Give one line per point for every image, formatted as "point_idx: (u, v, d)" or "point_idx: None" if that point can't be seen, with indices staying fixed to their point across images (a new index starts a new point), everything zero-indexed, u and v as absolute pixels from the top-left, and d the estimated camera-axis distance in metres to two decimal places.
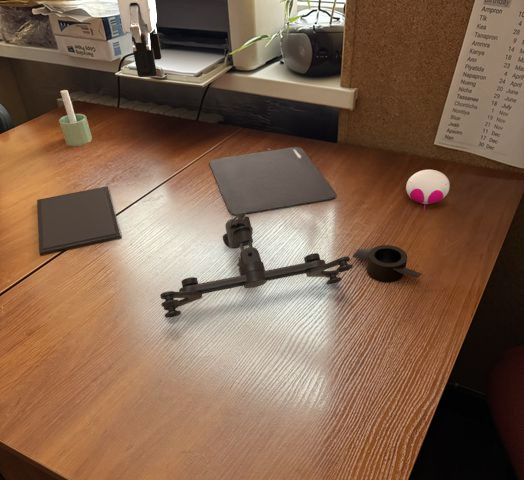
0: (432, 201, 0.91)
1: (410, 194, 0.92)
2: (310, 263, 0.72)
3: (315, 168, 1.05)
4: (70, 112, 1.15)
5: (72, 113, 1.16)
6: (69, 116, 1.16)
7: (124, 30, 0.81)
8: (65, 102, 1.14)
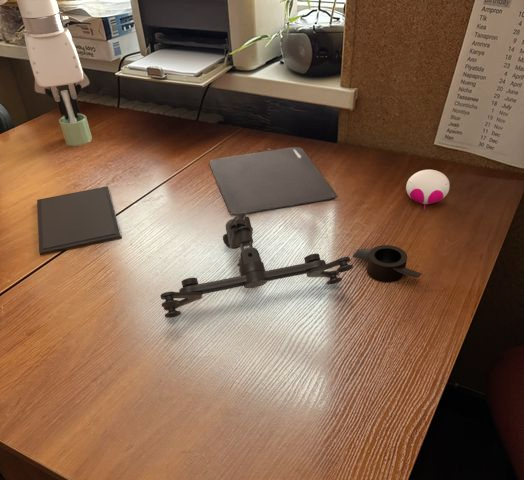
0: (432, 201, 0.91)
1: (410, 194, 0.92)
2: (310, 263, 0.72)
3: (315, 168, 1.05)
4: (70, 112, 1.15)
5: (72, 113, 1.16)
6: (69, 116, 1.16)
7: None
8: (65, 102, 1.14)
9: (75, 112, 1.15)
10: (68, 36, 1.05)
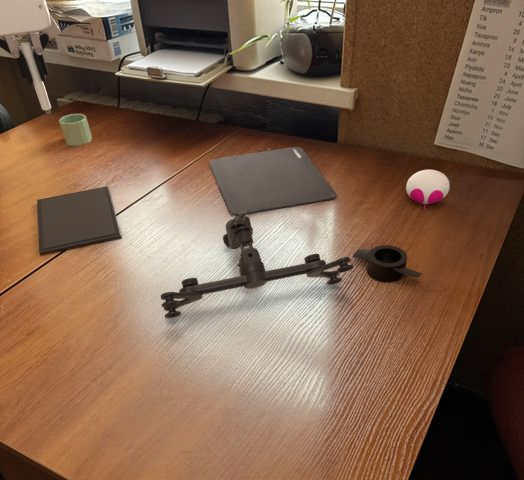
0: (432, 201, 0.91)
1: (410, 194, 0.92)
2: (310, 263, 0.72)
3: (315, 168, 1.05)
4: (35, 73, 0.84)
5: (37, 75, 0.85)
6: (34, 79, 0.85)
7: None
8: (27, 59, 0.83)
9: (41, 73, 0.84)
10: None
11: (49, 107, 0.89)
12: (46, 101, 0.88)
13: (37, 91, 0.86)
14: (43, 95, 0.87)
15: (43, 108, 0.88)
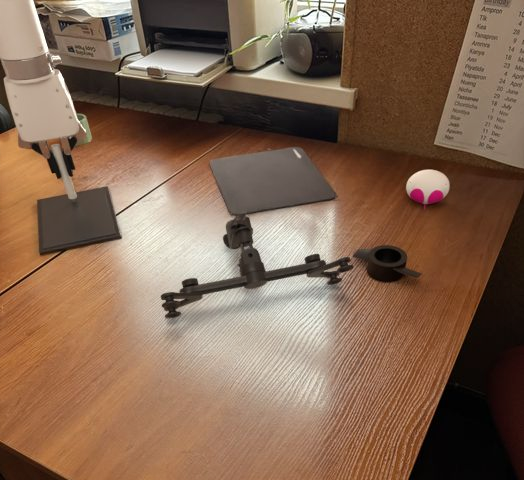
0: (432, 201, 0.91)
1: (410, 194, 0.92)
2: (310, 264, 0.72)
3: (315, 168, 1.05)
4: (63, 169, 0.93)
5: (65, 171, 0.93)
6: (62, 174, 0.94)
7: None
8: (57, 158, 0.92)
9: (69, 170, 0.93)
10: (59, 81, 0.83)
11: (75, 196, 0.97)
12: (72, 192, 0.96)
13: (65, 184, 0.95)
14: (70, 187, 0.96)
15: (69, 197, 0.97)
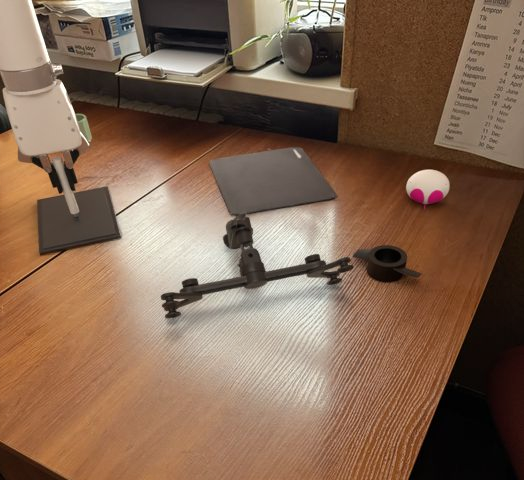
0: (432, 201, 0.91)
1: (410, 194, 0.92)
2: (311, 264, 0.72)
3: (315, 168, 1.05)
4: (65, 183, 0.89)
5: (67, 185, 0.89)
6: (64, 189, 0.90)
7: None
8: (58, 172, 0.87)
9: (71, 184, 0.88)
10: (61, 92, 0.79)
11: (77, 211, 0.93)
12: (74, 206, 0.92)
13: (66, 198, 0.91)
14: (72, 201, 0.91)
15: (71, 212, 0.93)
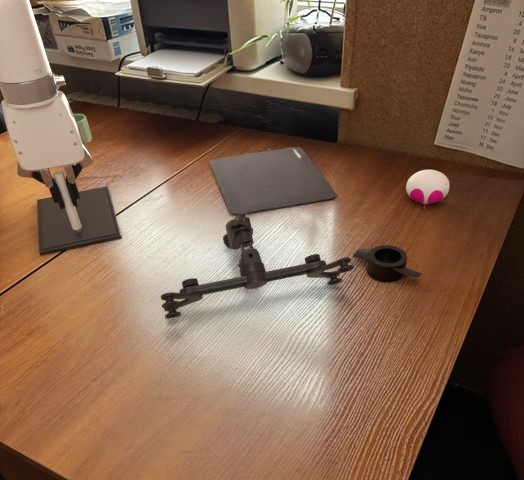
0: (432, 201, 0.91)
1: (410, 194, 0.92)
2: (311, 264, 0.72)
3: (315, 168, 1.05)
4: (67, 199, 0.85)
5: (69, 200, 0.85)
6: (65, 204, 0.86)
7: None
8: (60, 187, 0.83)
9: (73, 200, 0.85)
10: (63, 104, 0.75)
11: (79, 227, 0.89)
12: (77, 222, 0.88)
13: (68, 214, 0.87)
14: (74, 217, 0.87)
15: (74, 228, 0.89)
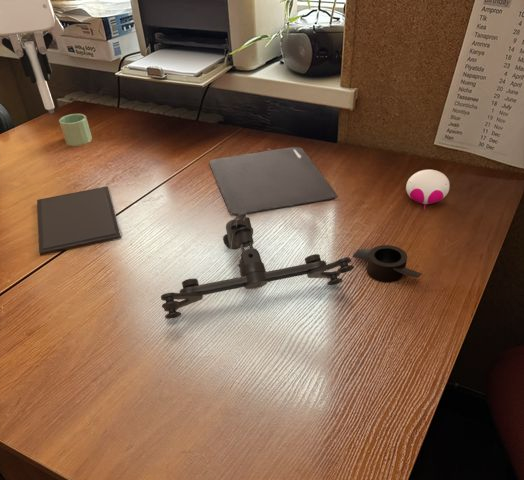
0: (432, 201, 0.91)
1: (410, 194, 0.92)
2: (311, 264, 0.72)
3: (315, 168, 1.05)
4: (38, 72, 0.84)
5: (41, 74, 0.85)
6: (37, 79, 0.85)
7: None
8: (31, 58, 0.83)
9: (45, 73, 0.84)
10: None
11: (52, 106, 0.88)
12: (49, 101, 0.88)
13: (40, 90, 0.86)
14: (46, 94, 0.87)
15: (46, 107, 0.88)
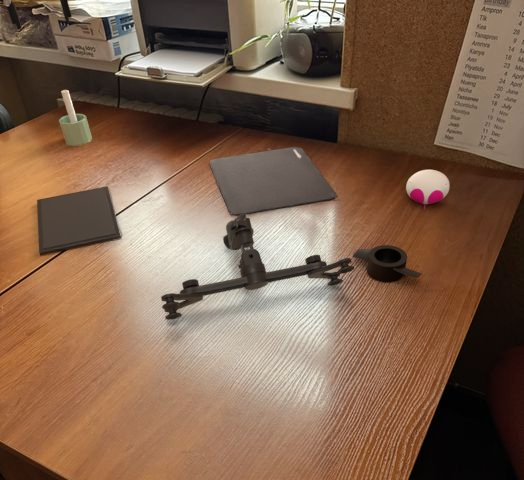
0: (432, 201, 0.91)
1: (410, 194, 0.92)
2: (311, 265, 0.72)
3: (315, 168, 1.05)
4: (71, 111, 1.15)
5: (73, 113, 1.16)
6: (70, 116, 1.16)
7: None
8: (66, 102, 1.14)
9: (66, 15, 1.03)
10: None
11: None
12: None
13: None
14: None
15: None
